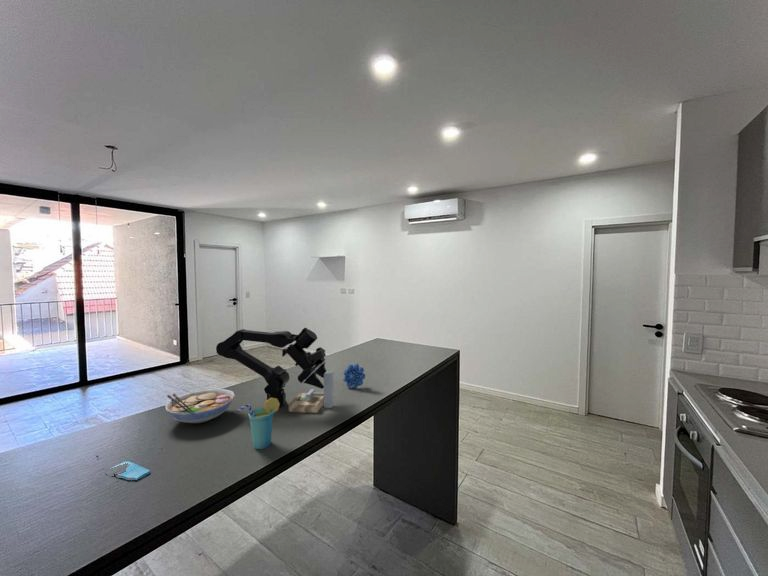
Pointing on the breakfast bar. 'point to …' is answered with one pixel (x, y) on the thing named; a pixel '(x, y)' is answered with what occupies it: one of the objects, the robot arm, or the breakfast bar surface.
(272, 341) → the robot arm
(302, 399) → the ball
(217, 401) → the ramen bowl
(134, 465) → the sponge
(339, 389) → the breakfast bar surface
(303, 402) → the board
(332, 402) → the pull handle
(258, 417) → the cup
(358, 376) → the grapes
